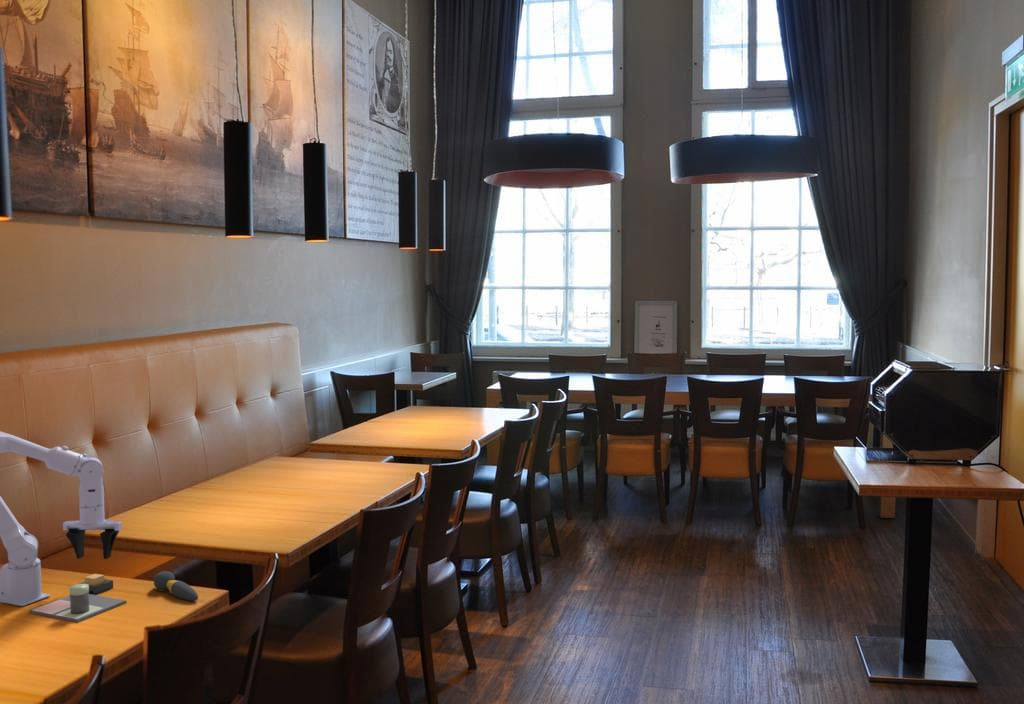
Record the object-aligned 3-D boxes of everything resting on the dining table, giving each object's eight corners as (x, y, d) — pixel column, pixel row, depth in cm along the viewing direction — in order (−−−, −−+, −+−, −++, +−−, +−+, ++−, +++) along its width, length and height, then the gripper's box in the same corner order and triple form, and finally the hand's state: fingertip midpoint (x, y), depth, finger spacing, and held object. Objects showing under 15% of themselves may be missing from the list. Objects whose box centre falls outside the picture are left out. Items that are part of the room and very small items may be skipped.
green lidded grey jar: (66, 613, 210) (65, 588, 209) (81, 607, 213) (80, 582, 213) (79, 615, 208) (78, 590, 208) (93, 609, 212) (92, 584, 211)
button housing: (76, 592, 226) (76, 584, 226) (96, 585, 232) (95, 577, 232) (93, 595, 224) (93, 587, 224) (113, 587, 230) (112, 580, 229)
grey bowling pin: (210, 599, 221) (209, 579, 221) (192, 604, 217) (192, 584, 217) (162, 584, 233) (161, 566, 232) (145, 590, 228) (144, 571, 228)
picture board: (29, 612, 212) (29, 609, 212) (79, 594, 225) (78, 591, 225) (77, 622, 206) (77, 619, 205) (126, 602, 218) (126, 599, 218)
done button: (85, 585, 227) (84, 577, 227) (95, 581, 230) (95, 573, 230) (94, 586, 226) (93, 578, 226) (104, 582, 229) (104, 575, 229)
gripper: (55, 508, 223) (57, 562, 224) (111, 509, 222) (113, 562, 223) (70, 502, 230) (72, 553, 231) (125, 502, 229) (127, 554, 230)
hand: (93, 557), depth 227 cm, fingers open, 6 cm apart
